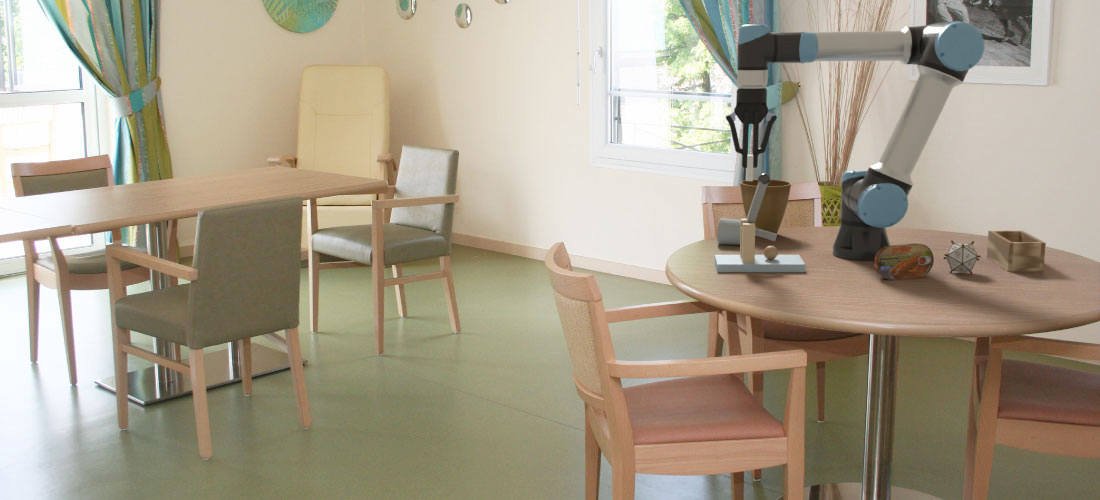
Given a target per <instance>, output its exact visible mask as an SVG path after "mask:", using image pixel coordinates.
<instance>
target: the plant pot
mask: <svg viewBox="0 0 1100 500" xmlns="http://www.w3.org/2000/svg"><path fill="white" fill-rule="evenodd" d="M739 183H740V192H741V198H742V199H741V200H742V205H743V210H744V214H745V219H747V216H748V213H749V210H750V207H751V203H752V200H753V197H754V194H755V191H756V188H757V185H758V178H756V179H754V178H753V181H746V179H745V180H741V181H740V182H739ZM791 187H792V183H791V182H790V181H787V180H781V179H780V180H779V179H771V181H770V183H769V184H768V185H767V187H766V190H765V193H764V196H763V199H762V202H761V205H760V208H759V211H758V214H757V217H756V220H755V228H758V229H761V230H765V231H768V232H772V233H775V234H777V235H778V232H779V230H780V227H781V224H782V221H783V219H784V216H785V213H786V210H787V206H788V202H789V199H790V192H791ZM755 237H759V236H756V235H755ZM759 238H760V237H759Z"/></svg>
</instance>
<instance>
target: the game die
mask: <svg viewBox="0 0 1100 500" xmlns="http://www.w3.org/2000/svg"><path fill="white" fill-rule="evenodd" d="M950 242H951V246H950V248H949V250H948V252H947V253H945V254H944V257H943V259H944V260H946V261H947V263H948V265H949V268H950V271H949V274H952V273H953V272H963V273H965V272H966V273H967V272H968V273H970V275H973V274H974V273H973V269H974V267H975V264H976V263H977V261H980V258H981V257H982V256H981V255H978V254H977V251H976V249H975V247H974V244H975V240H972V241H971V242H969V243H968V242H967V243H966V242H965V243H964V242H954V241H953V239H951V240H950Z"/></svg>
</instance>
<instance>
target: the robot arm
mask: <svg viewBox="0 0 1100 500" xmlns="http://www.w3.org/2000/svg"><path fill="white" fill-rule="evenodd" d="M984 52H985V40H984V37H983V35H982V32H981V31H980V30H979V29H978V28H977V27H976V26H974V25H973V24H971V23H969V22H964V21H961V20H953V21H942V22H935V23H931V24H927V25H926V24H925V25H920V26H919V25H917V26H904V28H902V29H901V30H881V31H880V30H877V31H876V30H872V31H871V30H870V31H863V30H862V31H811V32H810V31H800V32H799V31H798V32H797V31H793V32H792V31H791V32H787V31H786V32H785V31H781V32H774V31H773V32H772V31H770V27H769V25H768V24H743V25H741V26H740V27H739V29H738V41H737V70H736V72H737V73H736V74H737V75H736V85H737V87H739V88H737V89H736V97H735V98H736V103H735V107H734V109H733V111H732V112H731V113H729V114H726V115H725V120H726V121H727V122H728V124H729V129H730V132H731V137H732V142H733V146H734V151H735V153H737V154H741V167H742V168H744V169H745V180H746V181H753V180H754V169H755V168H756V169H757V168H758V162H759V158H758V157H759V155H760V154H763V153H765V152H766V150H767V146H768V142H769V138H770V135H771V133H772V132H771V131H772V128H773V125H774V123H775V121H776V120H777V119H778V117H777V115H775V114H773V113H771V112H770V111H769V107H768V106H767V105H768V104H767V103H768V102H767V101H768V89H767V88H766V87H767V85H768V73H769V71H768V69H769V68H768V67H769V64H775V63H776V64H801V65H802V64H805V63H807V64H808V63H814V62H859V61H860V62H877V61H879V62H880V61H882V62H885V61H886V62H889V61H893V62H895V61H899V62H900V63H901V64H902V65H916V68H917V70H918V73H919V76H918V78H917V79H916V82H915V84H914V86H913V88H912V90H911V92H910V95H909V97H908V99H907V101H906V103H905V105H904V107H903V109H902V112H901V114H900V115H899V118H898V120H897V122H896V124H895V126H894V128H893V130H892V132H891V134H890V137H889V139H888V141H887V143H886V145H885V146H884V147H885V148H884V150H883V152H882V154H881V155H880V158H879V160H878V162H877V163H874V164H872V165H870V166H869V167H868V169H867V170H846V171H844V172H843V174H842V176H841V178H842V179H841V181H840V185H841V197H840V198H841V199H840V202H841V203H840V223H839V225H840V226H839V229H838V232H837V234H836V237H835V239H834V242H833V245H832V254H833V256H836V257H839V258H841V259H842V258H843V259H850V260H860V261H861V260H862V261H864V260H866V261H869V260H870V261H871V260H872V261H873V260H874V259H875V255H876V254H877V252H878V251H879V250H880V249H881V248H883V247H885V246H891V243H890V239H889V236H888V233H887V229H886V228H890V227H893V226H895V225H896V224H898V223H899V222H901V221H902V220H903V219H904V217H905V216H906V214H907V213H908V212H907V211H908V208H909V207H908V206H909V200H908V199H909V198H908V197H909V194H910V192H911V191H912V188H913V186H914V183H913V181H912V180H913V179H912V178H911V177H912V176H911V175H912V173H913V171H914V169H915V167H916V165H917V163H918V161H919V159H920V156H921V155H922V153H923V150H924V149H925V146H926V145H927V142H928V140H929V139H930V136H931V135H932V133H933V130H934V129H935V126H936V124H937V121H938V120H939V118H940V115H941V113H942V111H943V110H944V108H945V105H946V103H947V102H948V99H949V97H950V95H951V93H952V91H953V88H955V87H957V86H959V85H962V84H963V82H964V81H965V78H966V76H967V74H968V72H969V71H970V69H972V68H974V67H975V66H976V65H977V64H978V63H980V60H981V59H982V58H983V55H984ZM736 117H737V118H738V119H739V121H740V122H741V123H742V139H741V140H742V141H741V142H742V143H741V146H740V142H739V141H740V140H739V137H738V133H737V127H736V123H735V121H737V120H736ZM764 118H766V121H767V122H766V124H765V128H764V132H763V135H762V139H761V143H760V146H759V137H760V136H759V134H760V133H759V132H760V124H761V122H762V121H763V120H764ZM749 125H752V147H751V148H752V150H751V151H752V154H748V152H749V150H748V149H749Z"/></svg>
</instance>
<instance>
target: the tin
mask: <svg viewBox="0 0 1100 500" xmlns="http://www.w3.org/2000/svg"><path fill="white" fill-rule="evenodd" d="M934 260H935V258H934V253H933V251H932V250H931V248H930V247H928V245H926V244H924V243H923V244H922V243H906V244H895V245H893V244H892V245H891V244H890V246H885V247H883V248H881V249H880V250H879V251H878V252H877V254H876V255H875V259H874V261H873V266H874V270H875V272H876V274H877V275H878V276H880V277H881V278H883V279H886V280H890V281H897V280H906V279H907V280H908V279H919V278H923V277H925V276H927V274H929V273H930V271H931V269H932V268H933V266H934V263H935V262H934Z"/></svg>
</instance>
